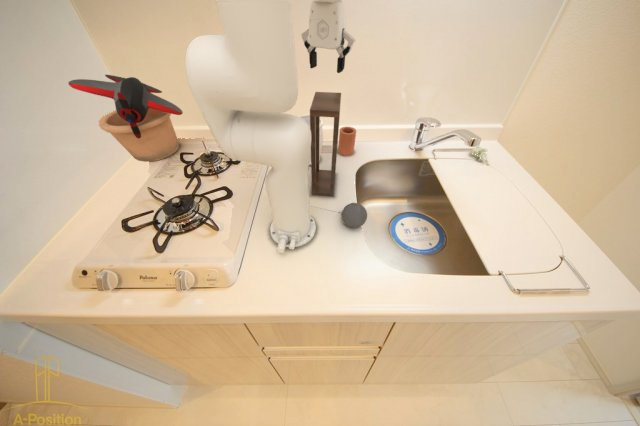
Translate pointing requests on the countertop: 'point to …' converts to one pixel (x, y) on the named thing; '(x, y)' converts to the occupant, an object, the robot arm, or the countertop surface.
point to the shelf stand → (321, 107)
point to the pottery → (144, 135)
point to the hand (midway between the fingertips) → (326, 69)
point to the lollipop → (353, 215)
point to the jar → (307, 120)
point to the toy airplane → (128, 98)
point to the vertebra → (480, 151)
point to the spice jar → (346, 141)
